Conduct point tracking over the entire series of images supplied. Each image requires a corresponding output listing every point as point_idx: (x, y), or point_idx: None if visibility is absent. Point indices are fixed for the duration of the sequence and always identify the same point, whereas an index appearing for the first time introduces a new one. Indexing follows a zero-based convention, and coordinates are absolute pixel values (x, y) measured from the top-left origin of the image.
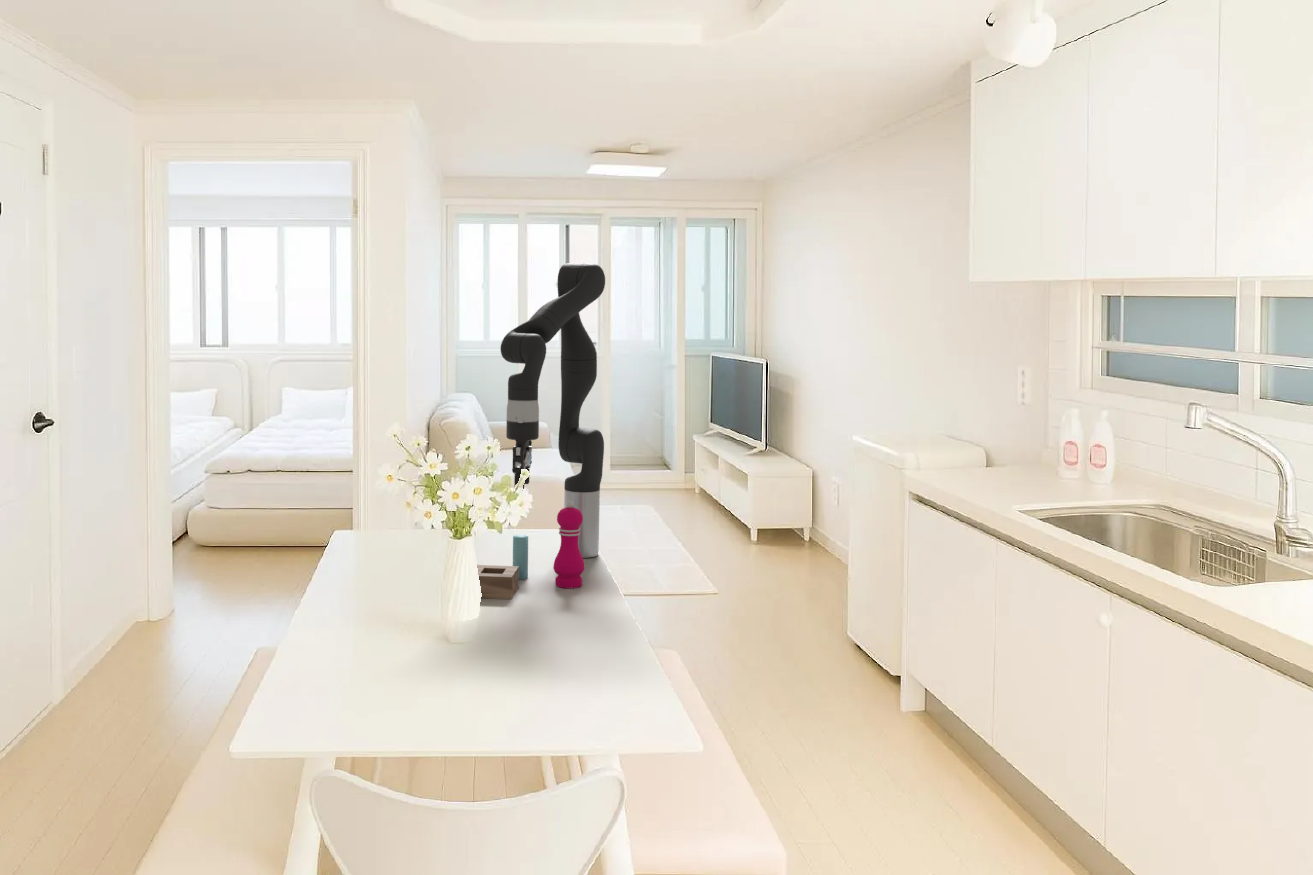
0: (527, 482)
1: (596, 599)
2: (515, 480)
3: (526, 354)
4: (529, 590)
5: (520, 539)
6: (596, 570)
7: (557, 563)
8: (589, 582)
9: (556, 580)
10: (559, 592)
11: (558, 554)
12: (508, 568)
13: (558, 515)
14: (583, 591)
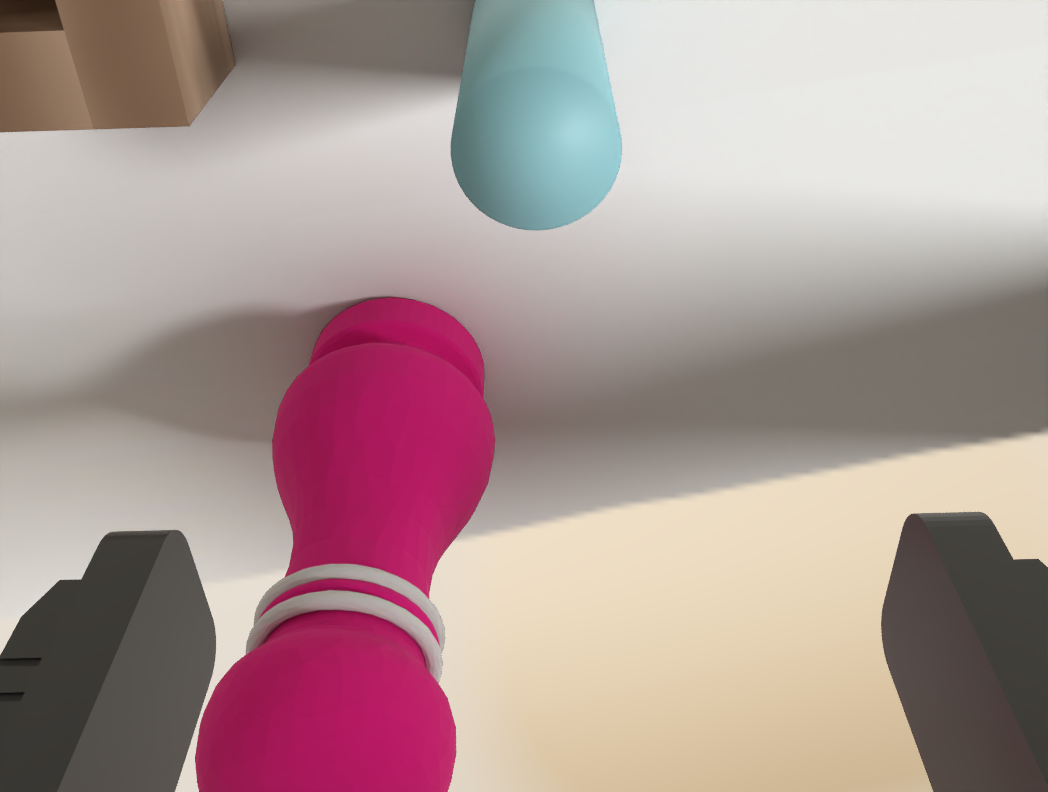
0: (894, 640)
1: (141, 524)
2: (34, 705)
3: None
4: (187, 156)
5: (453, 159)
6: (790, 468)
7: (292, 409)
8: None
9: (341, 327)
10: (209, 341)
11: (316, 449)
12: (75, 50)
13: (242, 714)
14: None
